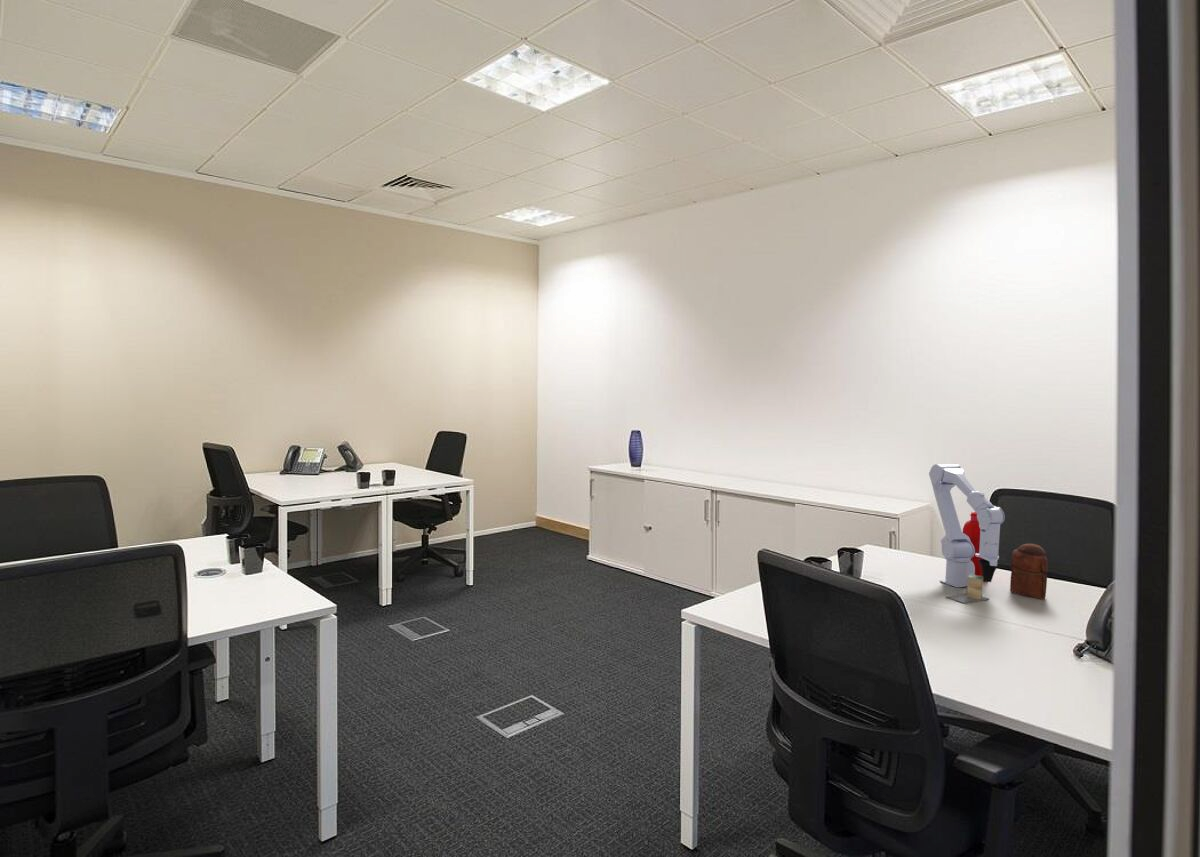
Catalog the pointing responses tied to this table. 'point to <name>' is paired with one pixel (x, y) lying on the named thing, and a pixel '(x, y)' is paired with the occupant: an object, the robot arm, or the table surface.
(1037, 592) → the brown upright rounded block
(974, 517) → the water bottle
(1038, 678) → the table surface
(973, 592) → the oak block
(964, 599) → the slate mat
